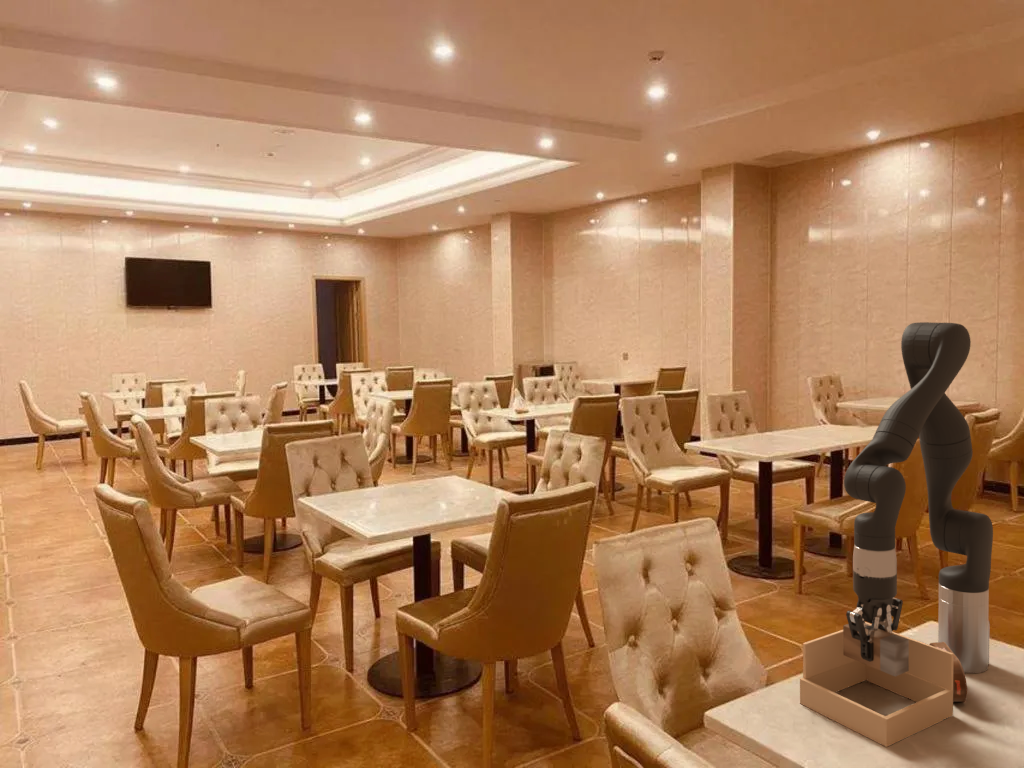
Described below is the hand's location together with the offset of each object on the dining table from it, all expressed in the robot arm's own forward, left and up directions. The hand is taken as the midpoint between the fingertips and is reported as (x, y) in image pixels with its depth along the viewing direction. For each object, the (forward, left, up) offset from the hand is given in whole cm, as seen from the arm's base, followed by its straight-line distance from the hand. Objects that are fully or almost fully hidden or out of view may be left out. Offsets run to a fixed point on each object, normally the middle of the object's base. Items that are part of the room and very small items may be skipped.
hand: (875, 656), depth 149 cm
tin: (-18, +3, -11) cm, 21 cm away
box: (0, 0, -1) cm, 1 cm away
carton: (0, 0, -10) cm, 10 cm away
